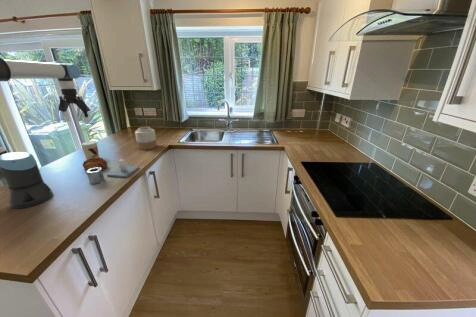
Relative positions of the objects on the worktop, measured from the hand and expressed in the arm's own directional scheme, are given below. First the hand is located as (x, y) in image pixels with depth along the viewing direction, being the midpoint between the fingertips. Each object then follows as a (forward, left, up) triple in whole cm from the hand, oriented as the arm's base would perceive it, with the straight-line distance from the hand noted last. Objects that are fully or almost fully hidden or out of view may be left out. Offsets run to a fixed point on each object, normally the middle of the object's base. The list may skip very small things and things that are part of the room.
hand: (77, 121), depth 137 cm
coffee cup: (+4, 0, -28) cm, 28 cm away
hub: (-27, -29, -28) cm, 49 cm away
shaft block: (-14, -37, -28) cm, 49 cm away
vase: (+35, -25, -28) cm, 51 cm away
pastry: (-12, -16, -28) cm, 35 cm away
